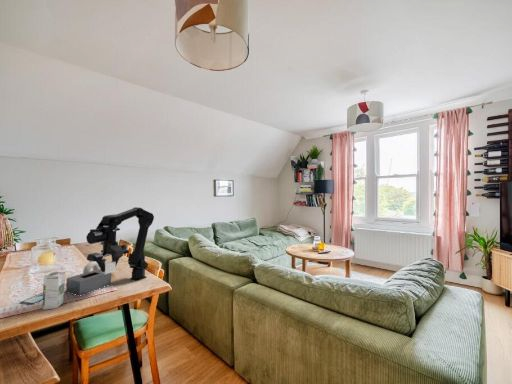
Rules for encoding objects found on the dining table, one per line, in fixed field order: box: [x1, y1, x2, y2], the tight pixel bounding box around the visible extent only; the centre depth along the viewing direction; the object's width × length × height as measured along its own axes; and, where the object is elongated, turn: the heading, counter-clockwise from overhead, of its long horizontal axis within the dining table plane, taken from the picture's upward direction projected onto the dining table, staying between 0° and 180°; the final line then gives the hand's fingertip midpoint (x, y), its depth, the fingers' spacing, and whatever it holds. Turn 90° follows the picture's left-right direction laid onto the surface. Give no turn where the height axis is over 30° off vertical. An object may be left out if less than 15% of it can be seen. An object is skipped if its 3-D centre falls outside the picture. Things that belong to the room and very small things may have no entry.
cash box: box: [65, 269, 112, 297], centre depth 125 cm, size 16×11×7 cm
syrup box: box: [41, 271, 66, 311], centre depth 105 cm, size 6×6×14 cm
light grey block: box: [102, 260, 117, 274], centre depth 122 cm, size 6×2×5 cm, turn 157°
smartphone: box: [19, 292, 43, 306], centre depth 114 cm, size 7×1×15 cm
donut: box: [82, 261, 101, 274], centre depth 139 cm, size 10×3×10 cm, turn 170°
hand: (108, 270), depth 122 cm, fingers closed on light grey block, 5 cm apart
